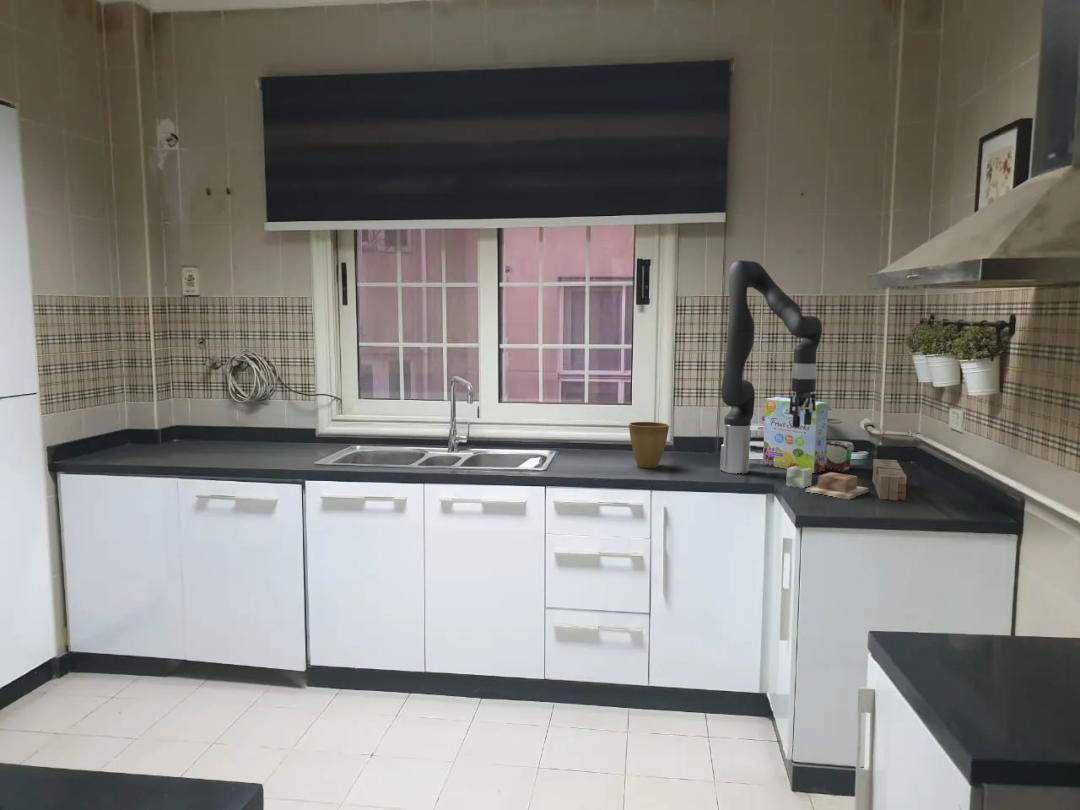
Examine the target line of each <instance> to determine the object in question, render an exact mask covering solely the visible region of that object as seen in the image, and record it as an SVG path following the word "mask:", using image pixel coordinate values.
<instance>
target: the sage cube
mask: <svg viewBox="0 0 1080 810" xmlns="http://www.w3.org/2000/svg"><path fill="white" fill-rule="evenodd" d="M812 478H813V474H812V468H806V467H799V466H793V467H790V468H787V469H786V480H785V481H786V482H785V486H786V485H787V486H786V487H790V486H793V487H792V488H796V487H799V488H798V489H802V488H804V489H806V488H805V487H807V488H809V487H808V486H810V487H812V481H813V479H812Z"/></svg>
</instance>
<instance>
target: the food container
mask: <svg viewBox="0 0 1080 810" xmlns="http://www.w3.org/2000/svg"><path fill="white" fill-rule="evenodd" d="M854 450H855V446H854V444H853V442H850V441H844V440H836V439H835V440H831V439H828V440H827V439H826V452H825V464H826V465H827V466H830V467H833V468H836V469H839V470H838V471H840V470H842V471H841V472H844V471H846V472H849V471H850V468H851V460H852V454H853V451H854ZM836 469H835V470H836ZM848 470H849V471H848Z"/></svg>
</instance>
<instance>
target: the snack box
mask: <svg viewBox="0 0 1080 810" xmlns="http://www.w3.org/2000/svg"><path fill="white" fill-rule="evenodd" d="M764 400H765V405H764V427H763V450H762V454H763V455H762V465H764V466H769V467H774V468H778V467H779V469H783V468H784V469H785V470H787V468H790V467H793V466H799V467H806V468H812V473H816V474H819V473H822V472H821V471H824V472H825V467H826V466H825V464H826V440H827V432H828V415H829V402H825V401H824V402H823V401H816V402H815V411H813V413H812V418H811V425H805V424H804V414H805V412H804V410H803V411H802V412H801V414H800V427H798V428H797V427H793V415H792V414H789V410H790V397H779V396H774V397H768V398H767V397H766V398H765V399H764ZM812 408H813V407H812ZM792 411H793V410H792ZM798 411H799V410H798ZM818 472H819V473H818Z"/></svg>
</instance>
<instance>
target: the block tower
mask: <svg viewBox="0 0 1080 810" xmlns="http://www.w3.org/2000/svg"><path fill="white" fill-rule="evenodd" d="M872 467H873V469H872V484H873V483H874V484H873V486H874V485H875V486H874V489H875V491H876V493H877V495H878V499H879V500H886V499H889V501H898V500H899V499H901V500H902V501H905V500H906V498H907V497H906V495H907V493H906V492H907V482H908V481H907V475H906V473H905V472H904V470H903V468H902V467H901V465H900V464H899V462H898V460H897V459H878V458H877V459H872Z"/></svg>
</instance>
